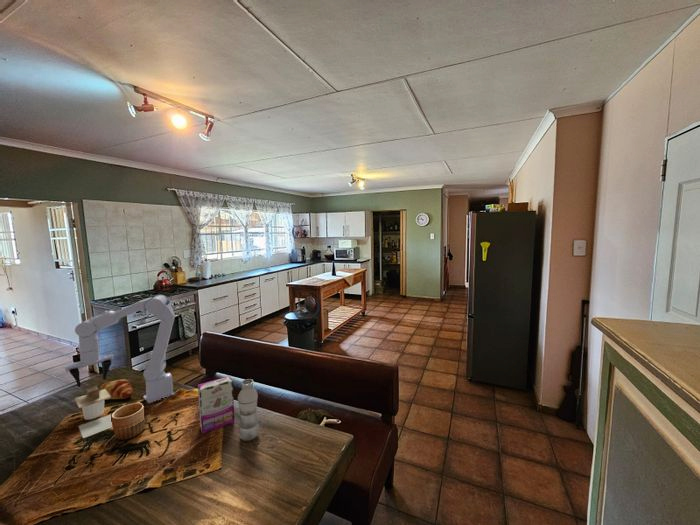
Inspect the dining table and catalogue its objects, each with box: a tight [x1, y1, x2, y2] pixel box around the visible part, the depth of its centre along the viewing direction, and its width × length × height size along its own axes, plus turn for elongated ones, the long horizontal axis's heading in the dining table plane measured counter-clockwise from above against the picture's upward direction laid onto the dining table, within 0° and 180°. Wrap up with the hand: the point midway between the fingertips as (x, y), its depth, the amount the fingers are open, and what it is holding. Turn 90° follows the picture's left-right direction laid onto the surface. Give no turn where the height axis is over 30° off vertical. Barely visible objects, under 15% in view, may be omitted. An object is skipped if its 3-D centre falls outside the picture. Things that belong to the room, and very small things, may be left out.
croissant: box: [99, 378, 133, 400], centre depth 125 cm, size 21×10×8 cm, turn 67°
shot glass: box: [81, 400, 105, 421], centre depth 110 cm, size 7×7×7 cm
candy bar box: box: [197, 375, 235, 435], centre depth 104 cm, size 11×5×16 cm, turn 126°
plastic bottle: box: [237, 378, 260, 442], centre depth 98 cm, size 6×7×20 cm
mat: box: [77, 413, 113, 439], centre depth 104 cm, size 10×10×1 cm
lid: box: [74, 384, 111, 409], centre depth 109 cm, size 9×9×4 cm
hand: (91, 382), depth 115 cm, fingers open, 7 cm apart
